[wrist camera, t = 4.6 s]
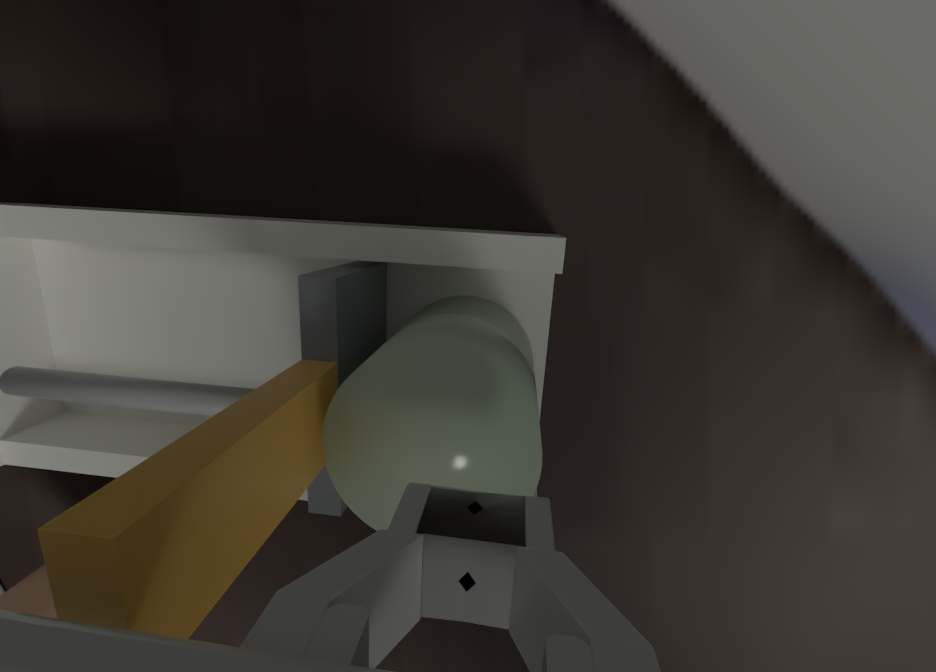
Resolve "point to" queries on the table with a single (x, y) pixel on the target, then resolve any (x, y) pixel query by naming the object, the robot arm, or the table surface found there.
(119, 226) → the tray
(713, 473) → the table surface
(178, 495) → the pusher
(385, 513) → the green jar
